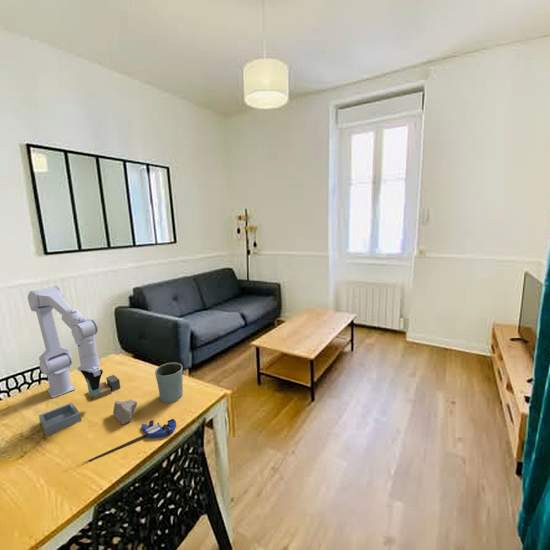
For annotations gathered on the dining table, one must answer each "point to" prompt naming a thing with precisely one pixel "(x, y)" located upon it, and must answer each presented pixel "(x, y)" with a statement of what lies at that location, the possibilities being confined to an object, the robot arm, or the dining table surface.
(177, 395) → the grey green cup
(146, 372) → the dining table surface
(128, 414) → the stone
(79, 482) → the dining table surface
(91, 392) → the dowel
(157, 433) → the bar clamp
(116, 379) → the dark grey block
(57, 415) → the tray
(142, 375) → the dining table surface
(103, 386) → the tan cardboard box
